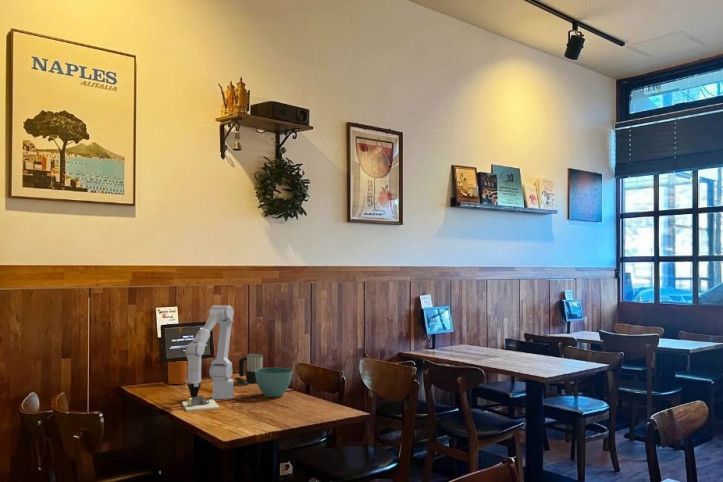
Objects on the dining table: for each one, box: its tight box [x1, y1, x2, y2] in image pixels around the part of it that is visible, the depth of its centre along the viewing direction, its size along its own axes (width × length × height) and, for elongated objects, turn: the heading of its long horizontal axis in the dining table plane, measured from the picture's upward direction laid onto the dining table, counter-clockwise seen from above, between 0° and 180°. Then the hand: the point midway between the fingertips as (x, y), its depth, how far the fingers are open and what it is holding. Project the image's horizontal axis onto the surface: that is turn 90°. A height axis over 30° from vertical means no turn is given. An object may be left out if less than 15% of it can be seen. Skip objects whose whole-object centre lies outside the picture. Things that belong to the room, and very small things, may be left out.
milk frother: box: [234, 353, 264, 386], centre depth 326 cm, size 14×16×15 cm
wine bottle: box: [167, 327, 188, 385], centre depth 323 cm, size 10×10×30 cm
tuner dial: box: [187, 394, 210, 406], centre depth 268 cm, size 11×5×3 cm, turn 141°
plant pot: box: [255, 367, 294, 398], centre depth 293 cm, size 18×18×12 cm
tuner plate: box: [181, 398, 220, 412], centre depth 269 cm, size 14×17×1 cm
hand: (193, 400), depth 268 cm, fingers closed
